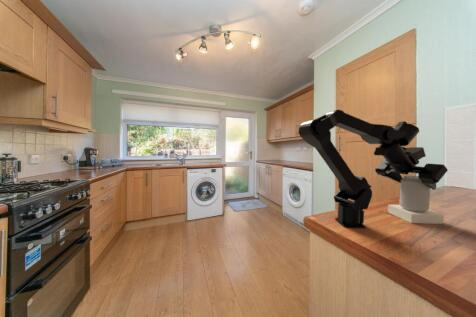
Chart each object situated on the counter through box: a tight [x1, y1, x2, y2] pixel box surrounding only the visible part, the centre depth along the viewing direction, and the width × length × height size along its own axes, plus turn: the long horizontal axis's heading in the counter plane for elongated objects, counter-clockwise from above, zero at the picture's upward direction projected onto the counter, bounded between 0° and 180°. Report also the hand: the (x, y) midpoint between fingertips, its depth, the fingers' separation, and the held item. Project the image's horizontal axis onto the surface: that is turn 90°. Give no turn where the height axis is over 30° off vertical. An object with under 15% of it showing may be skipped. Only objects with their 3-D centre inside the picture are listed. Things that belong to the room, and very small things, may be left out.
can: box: [398, 175, 431, 212], centre depth 62 cm, size 8×8×12 cm
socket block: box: [387, 204, 445, 225], centre depth 63 cm, size 10×10×3 cm
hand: (418, 185), depth 63 cm, fingers open, 9 cm apart
